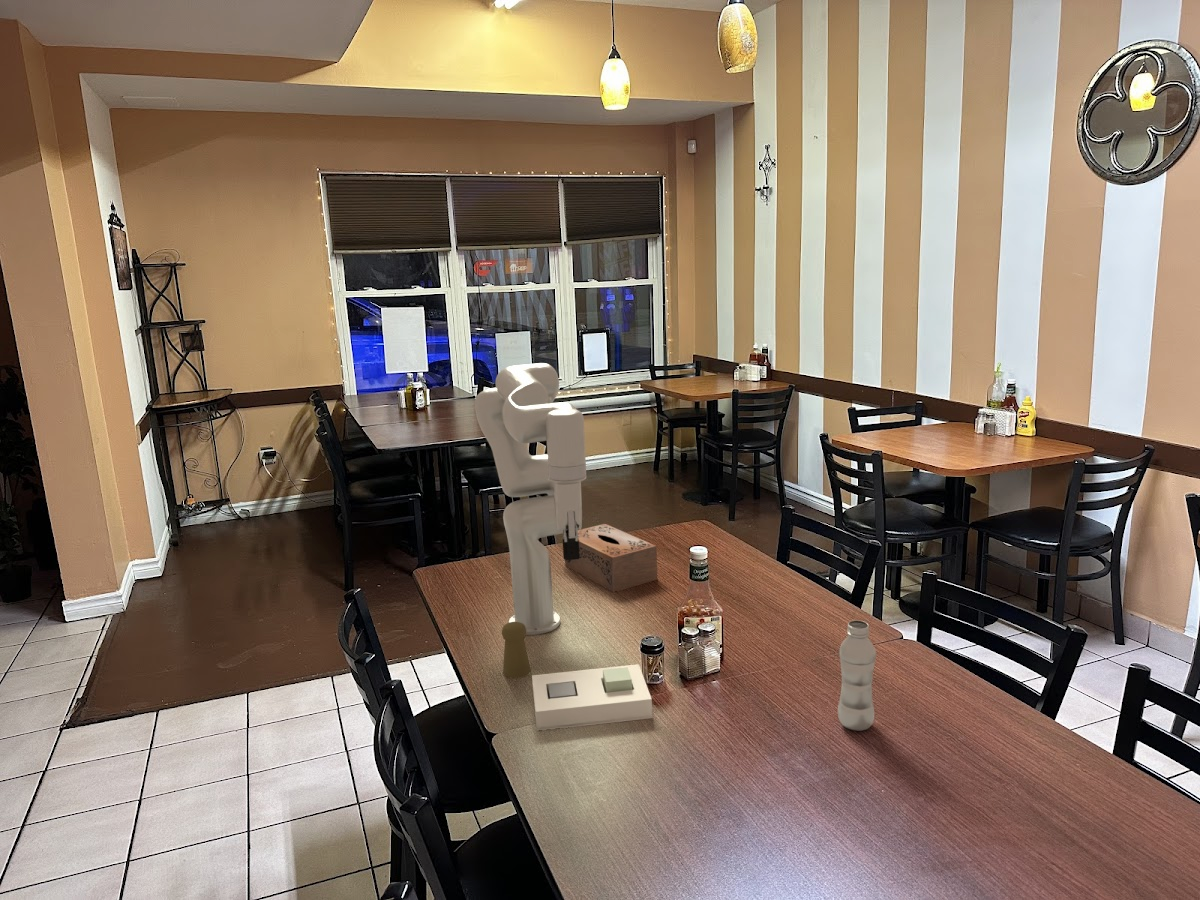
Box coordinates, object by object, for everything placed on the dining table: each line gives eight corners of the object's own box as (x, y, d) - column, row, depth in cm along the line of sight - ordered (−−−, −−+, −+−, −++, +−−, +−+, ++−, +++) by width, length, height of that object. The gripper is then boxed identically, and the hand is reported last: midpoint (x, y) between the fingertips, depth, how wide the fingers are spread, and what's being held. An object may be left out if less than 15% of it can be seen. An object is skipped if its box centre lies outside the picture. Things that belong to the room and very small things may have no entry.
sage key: (603, 683, 160) (602, 669, 159) (628, 680, 160) (627, 667, 160) (606, 696, 155) (606, 682, 154) (632, 693, 156) (631, 679, 155)
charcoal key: (549, 698, 159) (548, 684, 158) (574, 695, 160) (573, 681, 159) (550, 711, 154) (549, 697, 154) (576, 708, 155) (575, 694, 154)
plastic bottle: (874, 718, 149) (877, 618, 145) (873, 738, 143) (877, 634, 138) (838, 713, 151) (840, 614, 147) (836, 732, 145) (838, 630, 140)
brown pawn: (526, 679, 169) (522, 631, 167) (499, 677, 170) (495, 629, 168) (534, 665, 175) (531, 618, 172) (508, 664, 176) (504, 617, 174)
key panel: (533, 693, 163) (531, 675, 162) (639, 681, 166) (638, 664, 165) (536, 731, 150) (535, 711, 149) (652, 718, 152) (651, 698, 151)
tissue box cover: (657, 580, 220) (656, 545, 218) (614, 593, 213) (612, 557, 211) (606, 555, 242) (605, 523, 239) (565, 566, 234) (563, 533, 232)
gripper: (546, 463, 166) (550, 547, 170) (550, 483, 151) (555, 573, 156) (582, 461, 167) (585, 544, 171) (590, 480, 152) (593, 570, 156)
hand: (571, 558), depth 163 cm, fingers closed
